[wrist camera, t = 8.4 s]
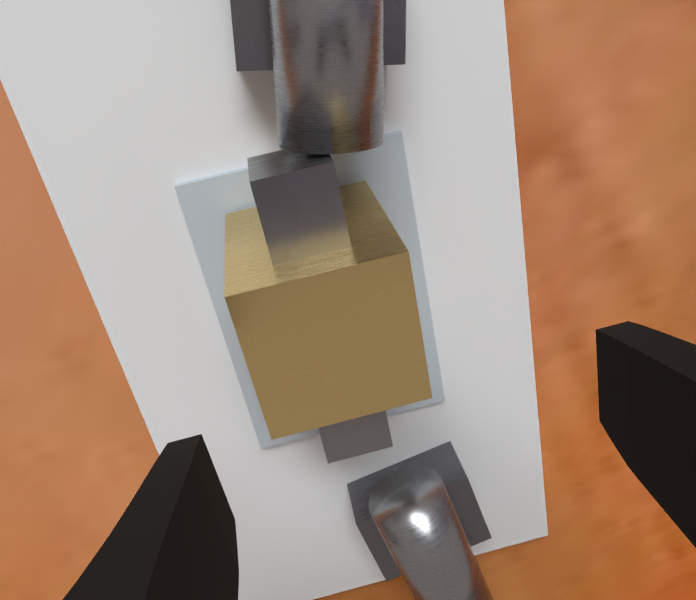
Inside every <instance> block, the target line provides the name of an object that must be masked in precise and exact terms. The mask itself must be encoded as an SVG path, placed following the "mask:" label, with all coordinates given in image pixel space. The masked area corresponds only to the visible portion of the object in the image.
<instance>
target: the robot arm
mask: <svg viewBox="0 0 696 600" xmlns="http://www.w3.org/2000/svg"><path fill="white" fill-rule="evenodd" d="M596 346H597V370H598V394H599V417H600V422H601V424H602V425H603V427H604V429H605V430H606V432H607V434H608V435H609V437H610V439H611V440H612V442H613V444H614V445H615V447H616V448H617V450H618V451H619V453H620V455H621V456H622V458H623V459H624V461H625V462H626V464H627V465H628V467H629V468H630V469H631V471H632V472H633V473H634V474H635V476H636V477H637V478H638V479H639V480H640V482H641V483H642V484H643V485H644V486H645V488H646V489H647V490H648V491H649V493H650V494H651V495H652V496H653V497H654V499H655V500H656V501H657V502H658V503H659V505H660V506H661V507H662V508H663V509H664V511H665V512H666V513H667V514H668V515H669V517H670V518H671V519H672V520H673V521H674V522H675V524H676V525H677V526H678V527H679V528H680V530H681V531H682V532H683V533H684V534H685V536H686V537H687V538H688V539H689V540H690V542H691V543H692V544H693V545H694V546H695V547H696V345H695V344H692V343H689V342H687V341H684V340H681V339H679V338H676V337H673V336H671V335H668V334H665V333H662V332H660V331H657V330H654V329H651V328H648V327H646V326H643V325H639V324H636V323H633V322H629V321H627V322H624V323H620V324H616V325H612V326H608V327H605V328H601V329H597V330H596ZM238 589H239V564H238V549H237V537H236V525H235V518H234V515H233V513H232V510H231V508H230V505H229V503H228V500H227V498H226V495H225V492H224V490H223V487H222V485H221V482H220V480H219V477H218V475H217V472H216V470H215V467H214V464H213V462H212V459H211V457H210V454H209V452H208V449H207V447H206V444H205V441H204V439H203V436H202V434H200V435H196V436H192V437H188V438H185V439H181V440H177V441H173V442H169V443H167V445H166V446H165V448H164V449H163V451H162V452H161V454H160V455H159V457H158V459H157V460H156V462H155V463H154V465H153V467H152V468H151V470H150V472H149V473H148V475H147V477H146V478H145V480H144V481H143V483H142V485H141V486H140V488H139V490H138V491H137V493H136V494H135V496H134V498H133V499H132V501H131V503H130V504H129V506H128V507H127V509H126V510H125V512H124V513H123V515H122V517H121V518H120V520H119V521H118V523H117V524H116V526H115V527H114V529H113V531H112V532H111V534H110V535H109V537H108V538H107V540H106V541H105V542H104V544H103V545H102V547H101V548H100V549H99V551H98V552H97V554H96V555H95V557H94V558H93V559H92V561H91V562H90V564H89V565H88V566H87V568H86V569H85V571H84V572H83V573H82V575H81V576H80V578H79V579H78V580H77V582H76V583H75V584H74V586H73V587H72V588H71V590H70V591H69V592H68V594H67V595H66V596H65V597H64V599H63V600H238Z"/></svg>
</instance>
